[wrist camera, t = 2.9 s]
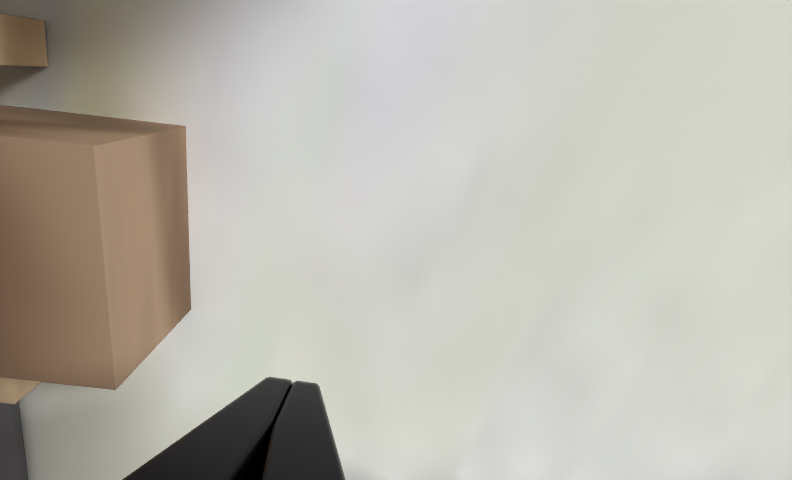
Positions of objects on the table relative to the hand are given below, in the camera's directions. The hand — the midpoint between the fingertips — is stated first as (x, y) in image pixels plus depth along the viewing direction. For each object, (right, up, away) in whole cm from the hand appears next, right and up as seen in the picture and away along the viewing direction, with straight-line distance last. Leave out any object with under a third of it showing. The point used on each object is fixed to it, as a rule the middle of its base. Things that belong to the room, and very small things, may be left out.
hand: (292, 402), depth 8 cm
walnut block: (-8, +4, +7) cm, 11 cm away
